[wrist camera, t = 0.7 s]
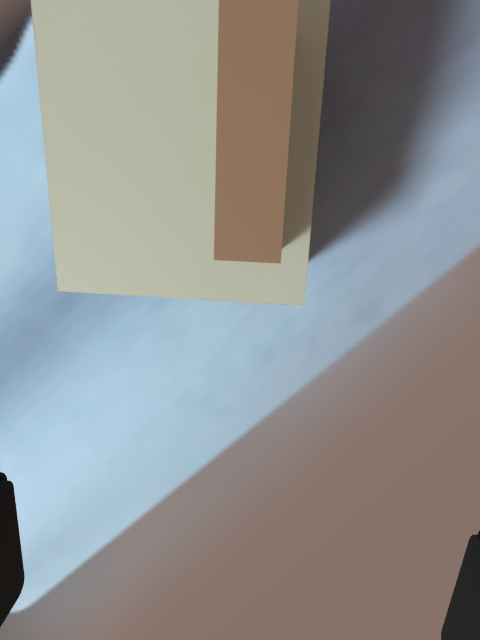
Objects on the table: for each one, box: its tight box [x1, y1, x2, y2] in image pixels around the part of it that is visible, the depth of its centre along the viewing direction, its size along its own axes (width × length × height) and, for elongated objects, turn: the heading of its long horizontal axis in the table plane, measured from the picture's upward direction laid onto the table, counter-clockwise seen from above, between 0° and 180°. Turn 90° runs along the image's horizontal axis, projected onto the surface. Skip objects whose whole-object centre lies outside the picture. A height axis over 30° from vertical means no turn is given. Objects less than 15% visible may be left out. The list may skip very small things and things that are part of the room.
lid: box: [31, 0, 331, 306], centre depth 21 cm, size 16×14×5 cm
